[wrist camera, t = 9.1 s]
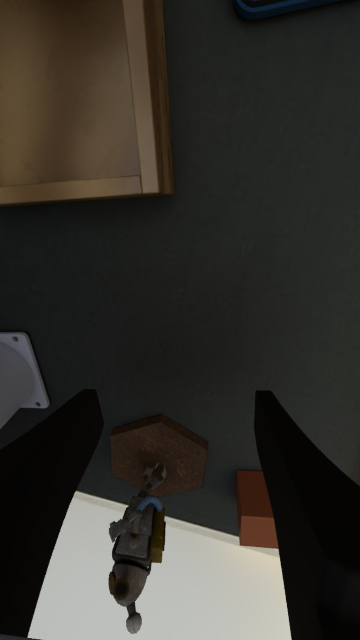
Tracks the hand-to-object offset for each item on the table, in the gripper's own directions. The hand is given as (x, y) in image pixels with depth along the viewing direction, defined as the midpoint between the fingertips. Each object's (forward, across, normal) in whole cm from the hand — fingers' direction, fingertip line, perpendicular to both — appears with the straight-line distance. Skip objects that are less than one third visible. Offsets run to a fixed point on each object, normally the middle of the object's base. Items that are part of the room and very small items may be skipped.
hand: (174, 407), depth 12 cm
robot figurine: (+10, +4, +15) cm, 18 cm away
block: (+10, -6, +19) cm, 22 cm away
